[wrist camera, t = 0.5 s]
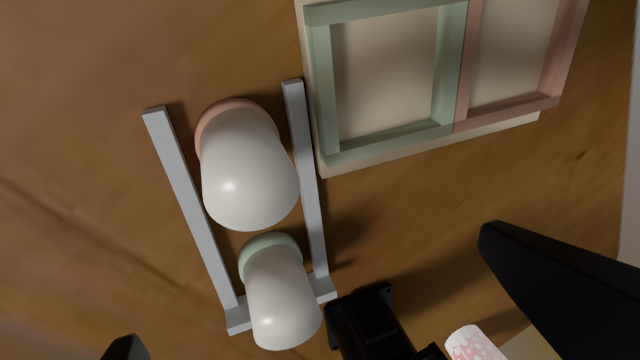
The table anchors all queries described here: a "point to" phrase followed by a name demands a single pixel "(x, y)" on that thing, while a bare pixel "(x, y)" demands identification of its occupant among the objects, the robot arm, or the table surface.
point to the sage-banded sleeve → (278, 291)
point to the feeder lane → (198, 220)
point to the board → (428, 72)
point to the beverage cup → (472, 345)
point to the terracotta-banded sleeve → (244, 166)
